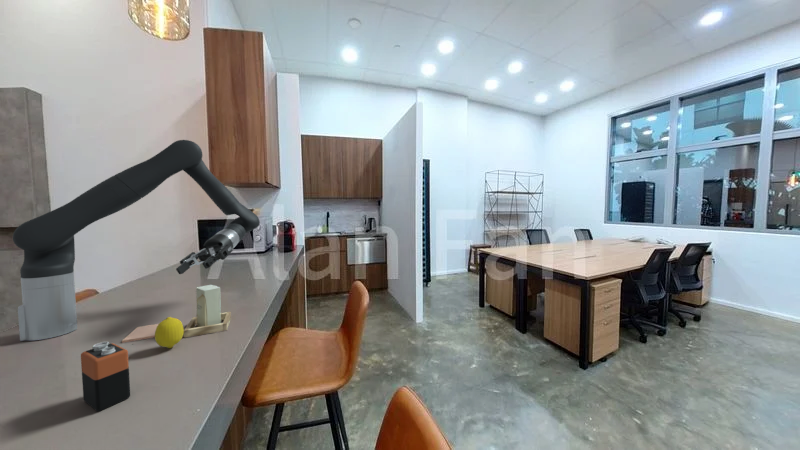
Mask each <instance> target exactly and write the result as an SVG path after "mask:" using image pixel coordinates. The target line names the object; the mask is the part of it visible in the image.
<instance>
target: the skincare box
mask: <svg viewBox="0 0 800 450" xmlns="http://www.w3.org/2000/svg"><path fill="white" fill-rule="evenodd" d="M195 290H196V291H195V292H196V293H195V294H196V317H197V324H196V327H202V326H208V325H214V324H220V323H222V320H221V313H222V312H221V311H222V310H221V309H222V307H221V287H220V286H219V285H218V286H217V285H215V284H207V285H200V286H197V287H196V289H195Z"/></svg>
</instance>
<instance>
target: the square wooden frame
mask: <svg viewBox="0 0 800 450" xmlns="http://www.w3.org/2000/svg"><path fill="white" fill-rule="evenodd" d="M231 319H232V311H225V312H221V321H223V322H221V323H220V324H214V325H208V326H202V327H197V316H194V317H192V318H191V319H190V321H189V322H188V323H187V325H186V327H185V328H184V334H183V338H184V339H186V338H192V337H197V336H202V335H207V334H215V333H220V332H224V331H228V329H229V325H230V321H231ZM195 325H196V326H195Z"/></svg>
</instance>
